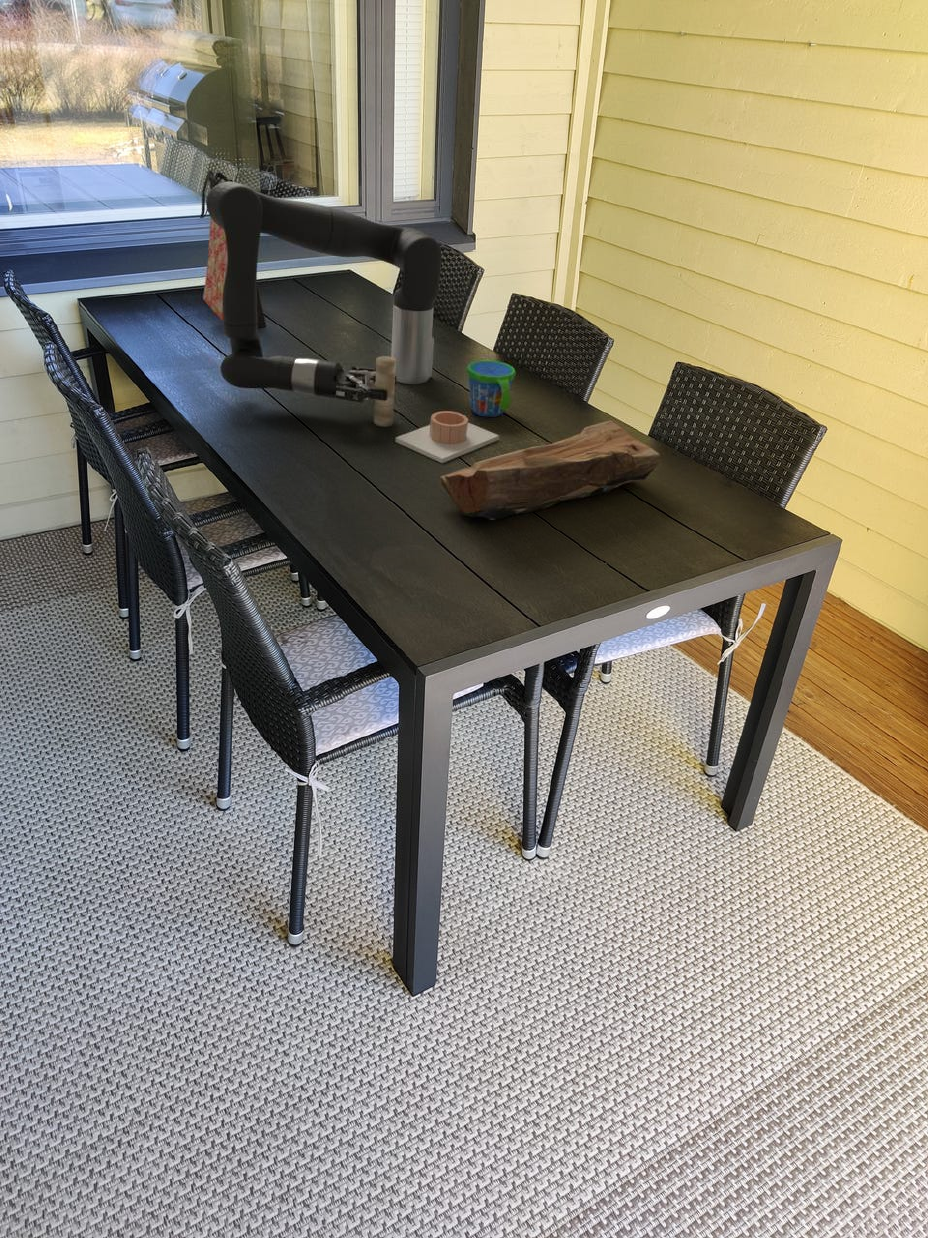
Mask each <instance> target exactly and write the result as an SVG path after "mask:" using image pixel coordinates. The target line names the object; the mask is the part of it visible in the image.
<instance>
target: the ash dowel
mask: <svg viewBox="0 0 928 1238" xmlns="http://www.w3.org/2000/svg"><path fill="white" fill-rule="evenodd" d="M375 361H376V362H375V368H376V383H375V384H374V385H375V387H374V388H379V389H386V390H387V391H388V398H387V400H386V401H383V400H376V399H374V412H373V415H374V416H373V417H374V418H373V419H374V420H373V423H374V425H376V426H378V427H384V428H385V427H386V428H387V427H390V426H392V425H394V424H393V423H394V408H395V407H394V406H395V405H394V403H395V387H396V385H395V365H396V360H395V359H394V358H392V357H391V356H387V355H382V356H377V357H376V360H375Z"/></svg>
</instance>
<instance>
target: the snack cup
mask: <svg viewBox="0 0 928 1238" xmlns="http://www.w3.org/2000/svg"><path fill="white" fill-rule="evenodd" d="M466 373H467V376H468V387H469V402H470V410H471V412H473V413H474V414H477V415H478V416H479V417H480V416H481V417H488V418H490V417H492V418H495V417H498V416H501V415H502V414H503V413H504V412H505V410H508V409H509V408H510V407H511V402H512V401H511V392H510V391H511V387H512V383H513V380H514V378H515V377H516V373H517V372H516V370H515V368H514V367H513V366H512V365H511V364H508V363H505V362H501V361H497V360H496V361H495V360H488V359H487V360H476V361H473V362H471V363H469V364H468V365H467V367H466Z"/></svg>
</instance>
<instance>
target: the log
mask: <svg viewBox="0 0 928 1238" xmlns="http://www.w3.org/2000/svg"><path fill="white" fill-rule="evenodd" d="M659 459H660V453H659V452H657V451H656V450H655V449H653V447H650V446H649V445H647V444H645V443H644V442H641V441H640V440H638V439H637V438H635V437H633V436H632V435H631V434H629V433H628V432H627V431H626V430H625V429H624V428H623V427H621V426H620V425H619V424H617V423H615V422H614V421H613V420H607V421H603V422H599V423H595V424H592V425H589V426H585V427H584V428H583V429H582V430H581V432H580V433H578V434H576V435H573V436H570V437H567V438H565V439H562V440H559V441H556V442H554V443H551V444H546V445H538V446H531V447H528V448H524V449H518V450H515V451H512V452H508V453H504V454H501V455H497V456H493V457H490V458H486V459H484V460H480V461H477V462H474V463H473V465H471V466H470V467H469V466H468V467H465V468H462V469H459V470H458V469H457V470H456V471H452V472H449V473H446V474H444V475H440V483H441V485H442V487H443V488H444V490H445V491H446V492H447V495H449V497H450V498H451V500H452V501H453V503H454V504H455V505H456V507H457V509H458V511H459V512H460V513H461V514H462V516H466V517H469V518H480V517H482V518H484V519H487V520H489V521H491V520H492V521H497V520H499V519H503V518H506V517H508V516H512V515H514V514H528V513H531V512H534V511H537V510H541V509H544V508H547V507H550V506H553V505H555V504H557V503H560V502H565V501H571V500H572V501H573V500H576V499H582V498H586V497H591V496H596V495H597V496H598V495H601V494H606V493H608V492H610V491H611V490H614V489H615V488H617V487H619V486H621V485H623V484H627V483H634V482H638V481H639V482H640V481H643V480H646V479H647V477H648V476H649V475H650V474H651V473H652V472H653V471H654V470H655V469H656V468H657V467H658V463H659Z"/></svg>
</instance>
